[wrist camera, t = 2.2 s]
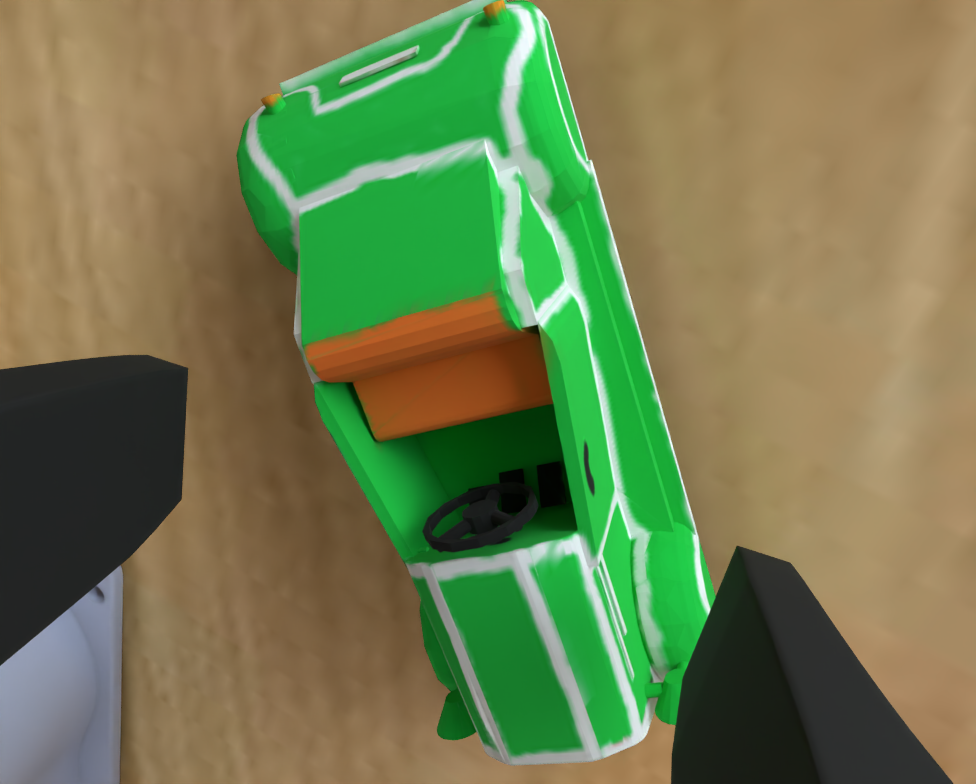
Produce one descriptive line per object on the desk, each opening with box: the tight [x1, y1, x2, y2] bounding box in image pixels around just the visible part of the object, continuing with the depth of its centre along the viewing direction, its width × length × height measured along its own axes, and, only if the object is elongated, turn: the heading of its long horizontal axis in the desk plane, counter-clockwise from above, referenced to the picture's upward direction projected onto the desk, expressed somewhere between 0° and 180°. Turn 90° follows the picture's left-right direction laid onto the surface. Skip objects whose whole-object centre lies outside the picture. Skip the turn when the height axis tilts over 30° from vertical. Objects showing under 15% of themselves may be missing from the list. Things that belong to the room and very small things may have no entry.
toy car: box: [237, 0, 716, 765], centre depth 12 cm, size 12×5×4 cm, turn 19°
